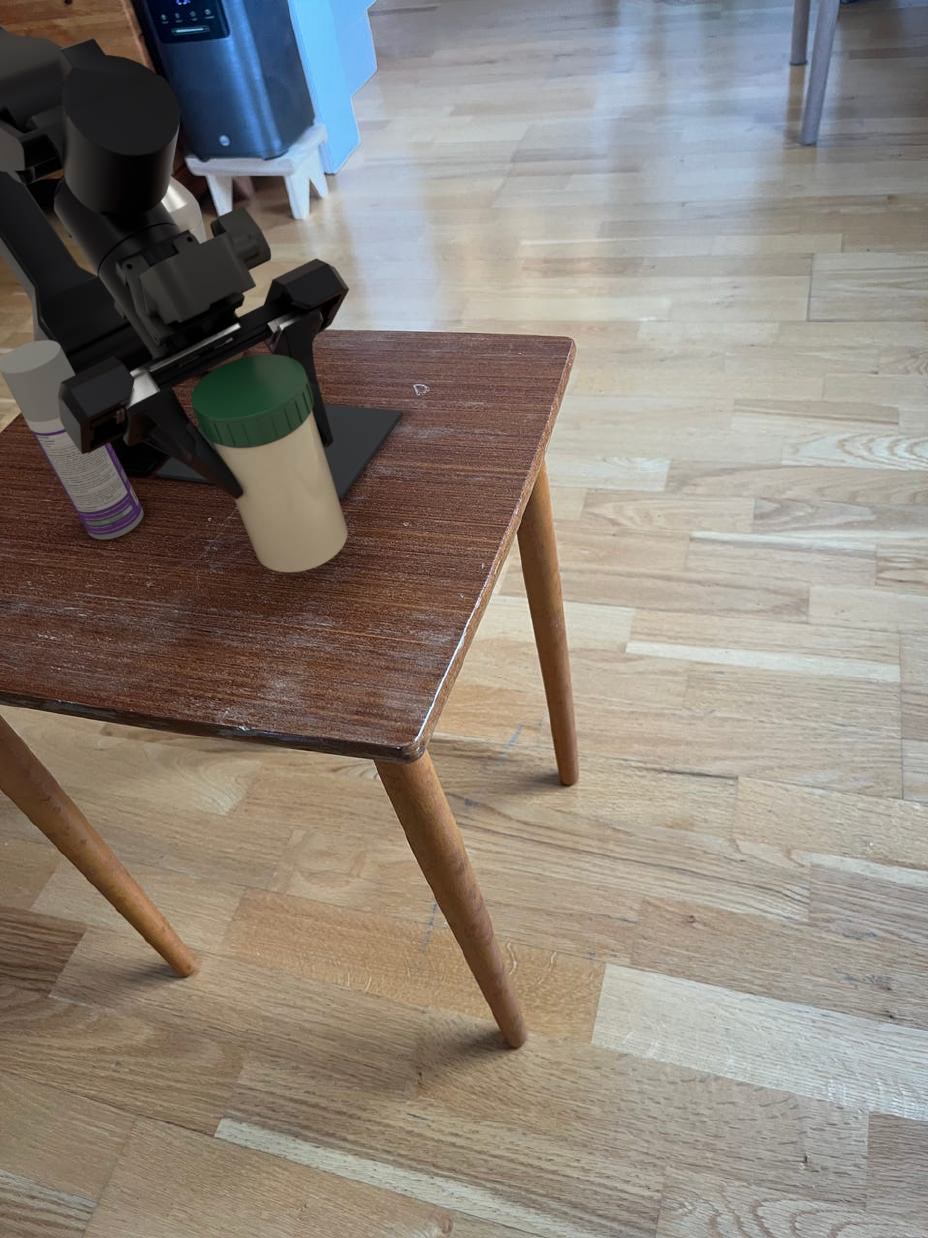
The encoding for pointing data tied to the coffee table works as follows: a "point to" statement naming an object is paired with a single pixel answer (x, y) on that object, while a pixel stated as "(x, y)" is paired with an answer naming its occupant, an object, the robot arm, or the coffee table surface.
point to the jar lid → (252, 400)
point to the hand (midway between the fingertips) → (285, 470)
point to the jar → (288, 499)
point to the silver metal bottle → (188, 224)
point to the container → (70, 442)
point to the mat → (347, 454)
